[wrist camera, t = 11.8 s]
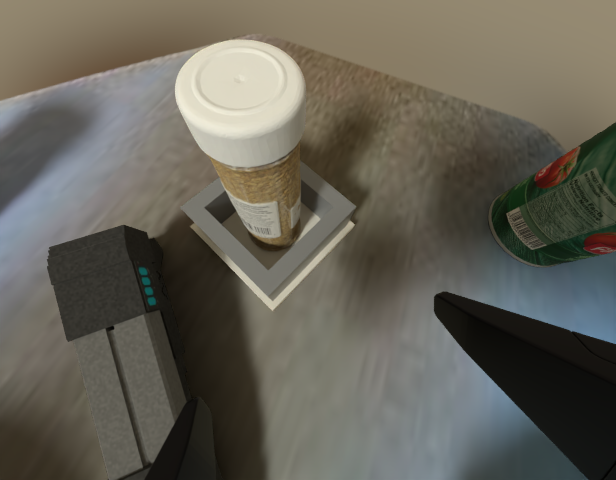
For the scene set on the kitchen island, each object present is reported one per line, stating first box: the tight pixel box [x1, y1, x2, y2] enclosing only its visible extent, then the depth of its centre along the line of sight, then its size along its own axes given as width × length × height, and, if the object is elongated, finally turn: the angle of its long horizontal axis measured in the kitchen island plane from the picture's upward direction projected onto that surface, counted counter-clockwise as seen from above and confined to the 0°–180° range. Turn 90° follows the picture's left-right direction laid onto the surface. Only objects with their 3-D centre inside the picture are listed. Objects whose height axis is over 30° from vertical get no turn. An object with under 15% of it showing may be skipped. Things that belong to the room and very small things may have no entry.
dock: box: [180, 160, 356, 312], centre depth 20 cm, size 10×10×4 cm
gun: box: [47, 225, 222, 480], centre depth 16 cm, size 4×20×10 cm, turn 21°
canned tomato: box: [488, 123, 616, 267], centre depth 18 cm, size 8×8×11 cm
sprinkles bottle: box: [175, 40, 306, 251], centre depth 15 cm, size 5×5×14 cm
